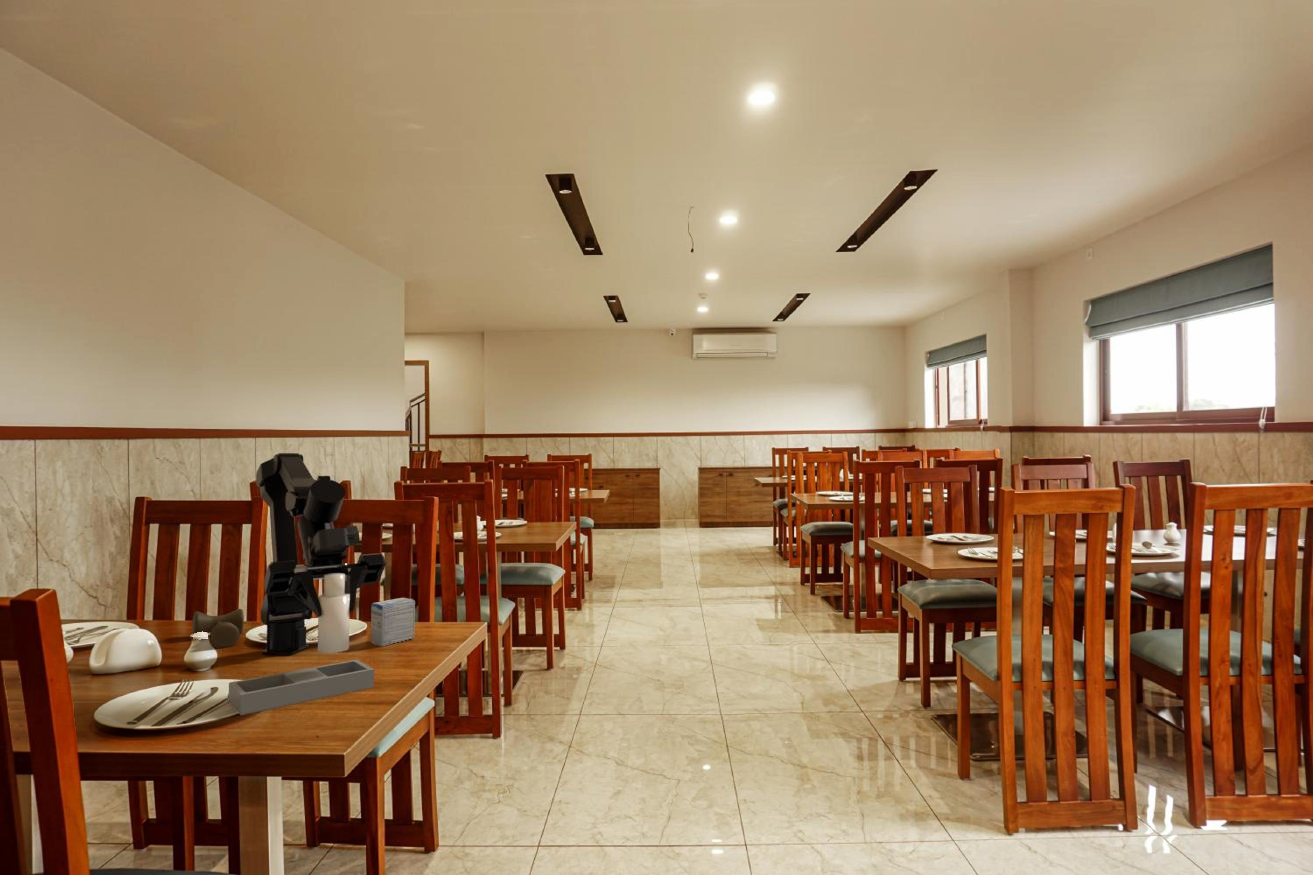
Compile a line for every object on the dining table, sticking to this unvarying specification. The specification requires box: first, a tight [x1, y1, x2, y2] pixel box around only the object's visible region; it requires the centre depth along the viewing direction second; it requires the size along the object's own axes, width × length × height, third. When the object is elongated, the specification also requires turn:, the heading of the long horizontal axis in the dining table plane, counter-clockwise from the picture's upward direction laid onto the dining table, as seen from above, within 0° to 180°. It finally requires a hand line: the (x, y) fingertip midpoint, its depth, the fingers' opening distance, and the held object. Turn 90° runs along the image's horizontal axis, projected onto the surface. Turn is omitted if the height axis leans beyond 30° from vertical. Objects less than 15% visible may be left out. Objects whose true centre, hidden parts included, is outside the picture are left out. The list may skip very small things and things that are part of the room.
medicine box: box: [370, 597, 416, 647], centre depth 156 cm, size 8×4×9 cm, turn 144°
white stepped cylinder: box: [317, 573, 350, 654], centre depth 122 cm, size 5×5×12 cm
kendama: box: [191, 608, 245, 649], centre depth 158 cm, size 6×10×20 cm
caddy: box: [228, 659, 375, 716], centre depth 119 cm, size 8×20×4 cm, turn 132°
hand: (336, 613), depth 121 cm, fingers closed on white stepped cylinder, 5 cm apart
